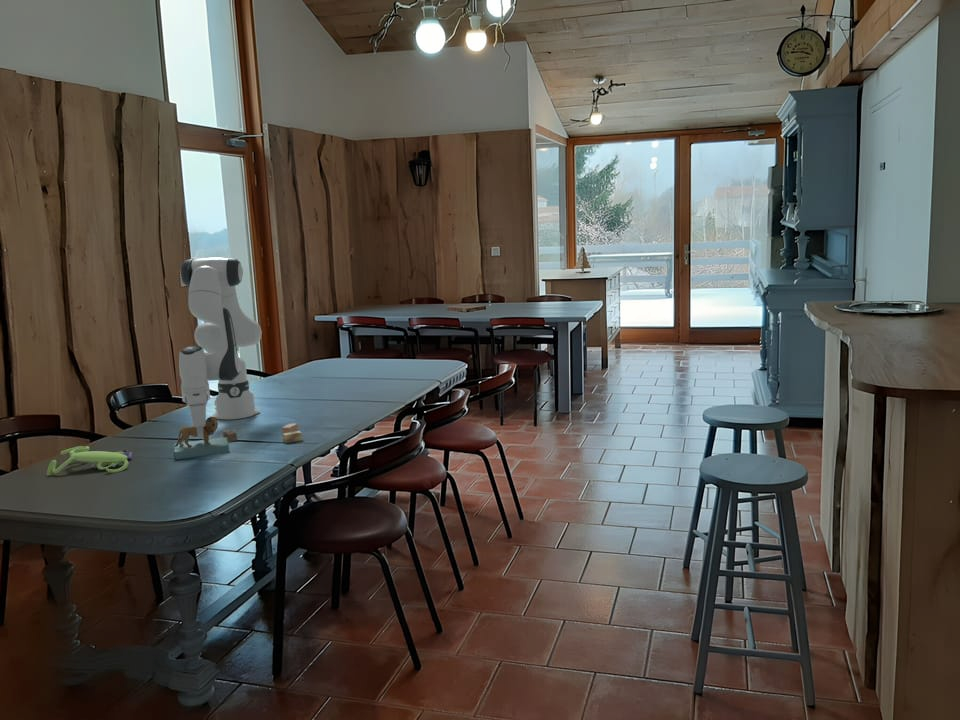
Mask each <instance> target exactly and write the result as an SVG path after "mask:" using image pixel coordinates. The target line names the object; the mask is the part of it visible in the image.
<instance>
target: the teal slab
mask: <svg viewBox="0 0 960 720" xmlns="http://www.w3.org/2000/svg"><path fill="white" fill-rule="evenodd" d="M209 443H211V444H210V445H207V444H206V443H204V439H201V440H192V441H191V440H190V441H188V444H189V445H191V447H188V446H187V445H186V444H185V441H183V442H182V444H184V445H183V446H180V445H179V444H178V446H177V447H174V456H175V460H183V459H188V458H195V457H203V456H210V455H218V454H226V453H230V447H229V446H230V444H229V442H228V441H227V438H226V437H223V436H222V437H217V438H209ZM176 444H177V442H176V443H174V446H175V445H176Z"/></svg>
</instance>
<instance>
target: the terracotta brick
mask: <svg viewBox="0 0 960 720" xmlns="http://www.w3.org/2000/svg"><path fill="white" fill-rule="evenodd" d="M281 430H282V434H281V435H283V433H289V432H295V431H299V424H298V423H288V424H286V425H283V426H282V427H281Z"/></svg>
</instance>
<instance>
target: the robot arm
mask: <svg viewBox="0 0 960 720" xmlns="http://www.w3.org/2000/svg"><path fill="white" fill-rule="evenodd" d="M243 276H244V269H243V266H242V263H241V261H239V260H238V259H237V258H234V257H228V258H225V257H214V256H213V257H212V256H211V257H204V258H202V257H200V258H190V259H186V260H184V261H183V262H182V264H181V266H180V278H181V282H182V283H183V284H184V285H185V286H186V287H189V288H188V300H187V304H188V309H189V312H190V313H191V315H193V317H195V318H196V319H198V320H199V321H201V322H204V323H201V324H198V325H197V326H196V328H195V330H194V334H193V335H194V341H195V343H196V344H197V345H190V346H186V347H183V348H182V349H180V351H179V355H178V368H179V369H178V370H179V377H180V381H181V384H180V389H181V390H180V391H181V397H182V398H181V399H182V400H181V401H182V402H183V403H185V404H186V406H187V407H188V409H189V413H190V416H191V420H192V424H193V426H192V427H194V428H196V429H197V434H198V437H197V439H201V440H202V439H204V438H203V437H204V436H203V427H205V424H206V420H207V404H208V403H209V400H210V399H211V391H210V390H211V389H210V383H209V381H218V382H217V391H218V395H217V396H216V397H215V399H214V400H213V401H214V402H213V403H214V406H215V411H214V412H213V414H212V415H211V417H216V418H217V420H238V419H245V418H250V417H253V416H255V415H258V414H260V413H261V411H260V409H258V408H256V404H255V397H254V396H255V395H254V393H253V392H251V391H250V390H249V389H250V382H249V380H248V379H247V378H248V375H247V373H248V372H247V365H246V362H245V360H244V359H242V358H241V357H239V352H238V348H247V347H250V346H251V347H252V346H254V345H258V343H259V342H260V341H261V339H262V335H263V334H262V333H263V332H262V331H263V330H262V328H261V326H260V324H259V323H258V322H257V321H256V320H254V319H253V318H250V317H249V316H248V315H246V314H245V312H243V310H242V308H241V307H240V303H239V299H238V295H237V290H236V286H238V285H239V284H240V283H241V282H242V280H243Z"/></svg>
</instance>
